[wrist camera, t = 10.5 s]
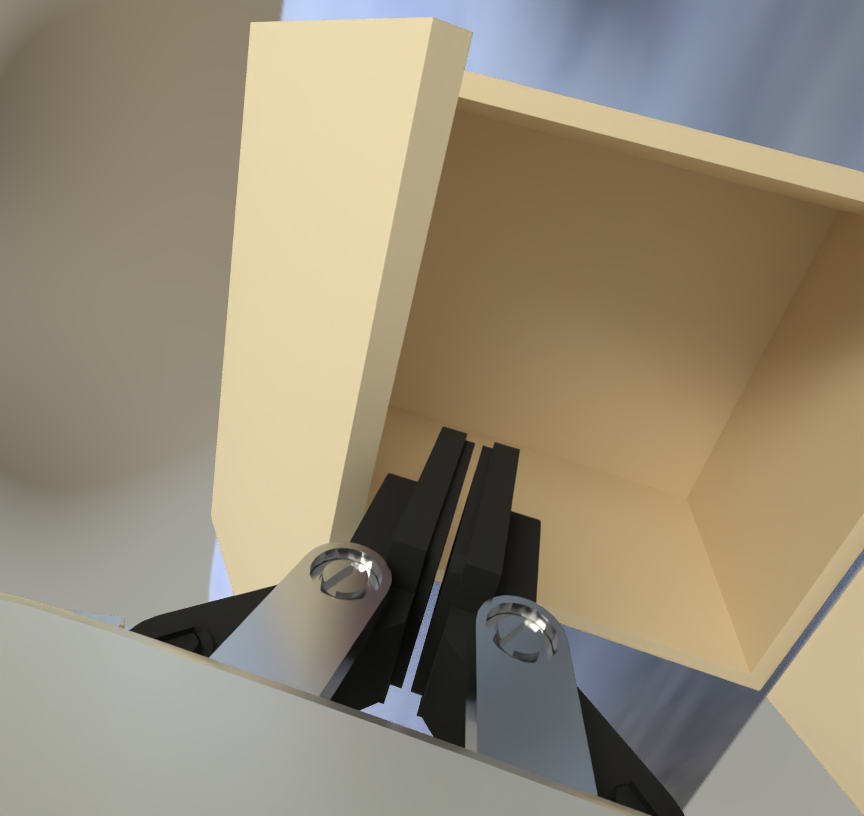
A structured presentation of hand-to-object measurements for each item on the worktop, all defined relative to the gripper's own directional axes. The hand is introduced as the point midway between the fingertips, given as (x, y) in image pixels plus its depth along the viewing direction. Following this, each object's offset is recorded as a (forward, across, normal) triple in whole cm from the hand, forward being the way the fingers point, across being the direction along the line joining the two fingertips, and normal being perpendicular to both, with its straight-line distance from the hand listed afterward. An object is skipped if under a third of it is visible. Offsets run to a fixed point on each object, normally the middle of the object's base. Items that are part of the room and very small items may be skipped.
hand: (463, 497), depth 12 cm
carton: (+18, -2, 0) cm, 18 cm away
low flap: (+2, +5, 0) cm, 5 cm away
